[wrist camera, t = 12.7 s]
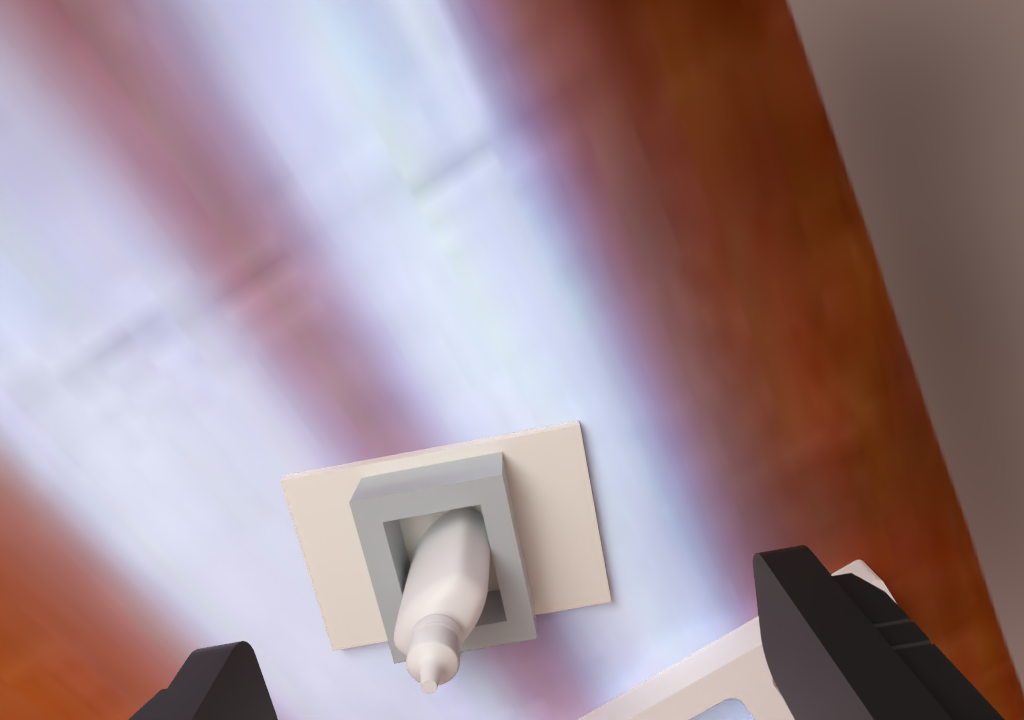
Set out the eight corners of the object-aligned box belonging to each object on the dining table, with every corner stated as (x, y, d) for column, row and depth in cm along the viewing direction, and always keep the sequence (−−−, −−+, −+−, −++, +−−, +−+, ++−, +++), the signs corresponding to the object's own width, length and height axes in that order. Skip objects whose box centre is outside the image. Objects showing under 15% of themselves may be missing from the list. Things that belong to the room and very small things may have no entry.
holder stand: (284, 475, 39) (260, 505, 36) (578, 420, 39) (586, 445, 35) (335, 642, 42) (318, 687, 39) (609, 594, 42) (620, 635, 38)
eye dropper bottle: (507, 556, 40) (508, 705, 29) (423, 586, 41) (390, 745, 29) (480, 495, 39) (469, 624, 27) (394, 527, 40) (348, 667, 28)
